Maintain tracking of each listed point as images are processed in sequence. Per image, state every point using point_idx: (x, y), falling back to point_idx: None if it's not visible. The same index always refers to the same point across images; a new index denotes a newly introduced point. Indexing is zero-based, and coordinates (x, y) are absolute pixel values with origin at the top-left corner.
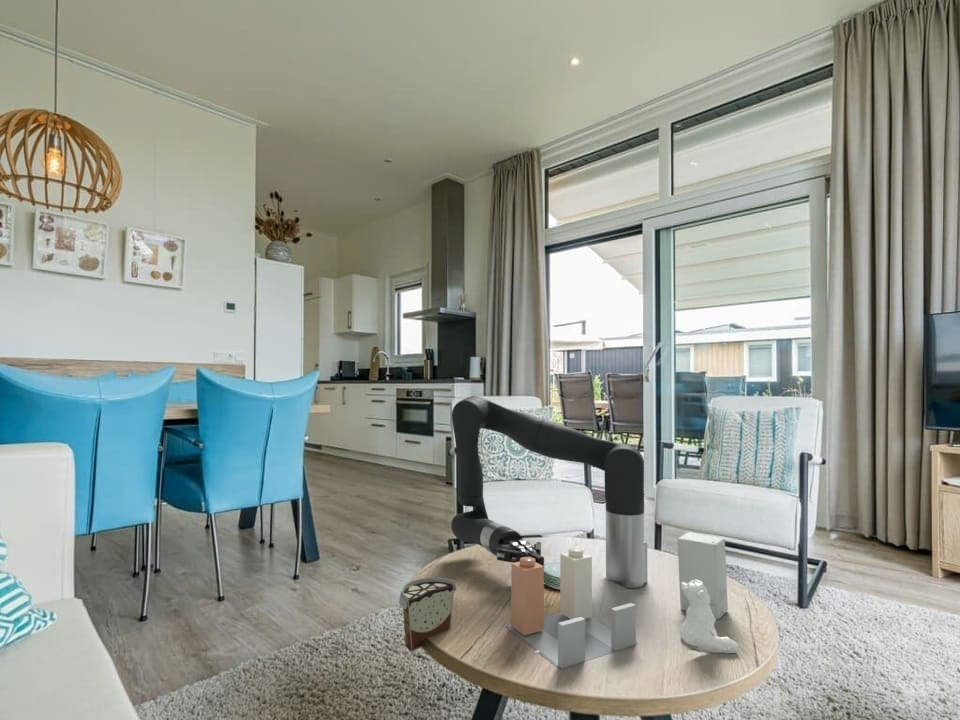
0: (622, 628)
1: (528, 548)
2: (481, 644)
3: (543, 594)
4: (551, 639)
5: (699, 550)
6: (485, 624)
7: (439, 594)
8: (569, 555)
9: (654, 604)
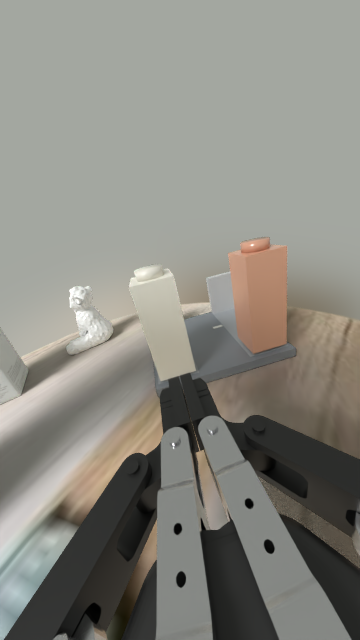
0: None
1: (185, 480)
2: (331, 337)
3: (233, 293)
4: (232, 329)
5: None
6: (344, 379)
7: None
8: (163, 273)
9: (25, 413)
